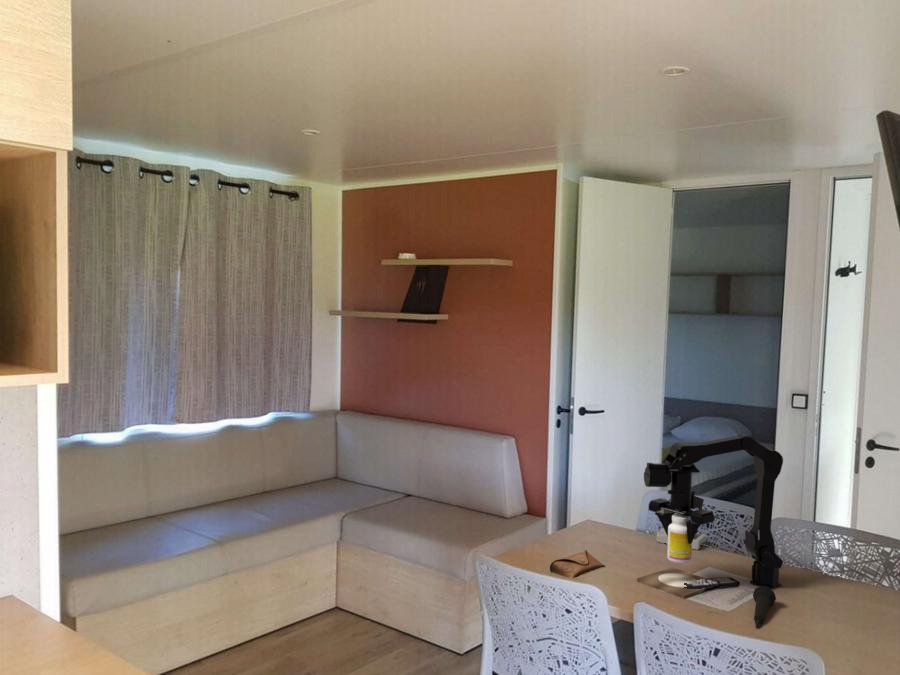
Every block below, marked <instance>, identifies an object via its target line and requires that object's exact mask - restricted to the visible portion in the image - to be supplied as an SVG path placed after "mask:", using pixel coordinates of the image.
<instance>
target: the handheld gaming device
mask: <svg viewBox="0 0 900 675" xmlns="http://www.w3.org/2000/svg"><path fill="white" fill-rule="evenodd" d="M659 538H660V539H659ZM655 540H656V542H657V543H659V542H660V544H664V543H666V544H665V545H668V537H667V534H666V532H665V530H664V527H662V528H661V529H659V530H658V532H657V533H656V539H655ZM706 540H707V534H703V533H697V532H696V534H695V537H694V539H693V541H692V547H691V550H695V549H696V551H698V550H700V549H701V545H705V544H706V542H707V541H706Z"/></svg>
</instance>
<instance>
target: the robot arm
mask: <svg viewBox="0 0 900 675" xmlns="http://www.w3.org/2000/svg"><path fill="white" fill-rule="evenodd" d="M740 451H745V453H747V454H748V455H749V456H751V457H752V458H753V466H754V470H755V474H756V477H757V481H756V491H755V492H756V493H755V502H754V515H753V526H752V527H751V529H750V530H748V529H744V530H745V531H744V540H743V544H744V545H745V549H746V551H747V552H748V553H749V554H750V555H751V558H752V560H753V559H754V560H753V564H752V565H751V580H750V581H749V583H750V584H753V585H755V586H758V587H759V586H766V587H769V588H770V589H771V590H772V589H775V588H778V587H780V586H782V582H780V581H779V578H780V569H782V566H783V564H784V561H783V559H782V558H781V557H780V556H779V555H778V554H777V553H776V548H775V546H776V545H775V540H774V536H773V534H772V528H771V527H772V516H773V508H774V507H773V506H774V497H775V496H774V495H775V484H776V480H777V478H778V477H779V476H780V474H781V471H782V468H783V464H784V457H783V455H782V453H780V452H779V451H777V450H775V449H772V448H770V447H766V446H764V445H763V444H761V443H759V442H757V440H755V439H753V438H752V437H751V436H749V435H746V434H744V433H743V434H742V433H741V434H738V435H734V436H730V437H729V436H728V437H723V438H718V439H713V440H708V441H707V440H706V441H703V442H702V441H701V442H691V441H687V442H686V441H683V442H682V441H680V442H679V441H677V442H673V444H672V445H671V447H670V449H669V452H668V454H667V455H666V456H665V457H664V459H663V460H662V461H661V463H655V462H647V463H646V467H645V469H644V472H643V482H644V485H645V487H646V488H667V487H668V486H670V489H668V490H667V494H668V495H670V500H667V499H664V498H657V499H652V500H650V501H649V503H648V511H650V512H654V515H655V516H657V517H658V520H659V521H660V523H661V525H662V528H664V530H665V532H666V534H667V537H668V526H669V525H670V524H672V522H673V521H672V515H675V514H679V515H685V516H688V517H689V519H690V520H689V521H687V522H686V526H687V538H688V543H689V544H691V543H692V541H693V539H694V537H695V534H696V533H697V531H698V530H699V528H700V526H701V525H706V524H711V523H715V514H714V512H713V511H711V510H707V509H703V505H704V501H705V499H704V498H702V497H698V496H696V495H695V494H696V492H695V491H694V490H693V489H692V484H693V482H692V481H693V473H697V474H698V473H700V472H701V471H700V470H699V469H698V468H697V467H696V465H695V464H696V463H698V462H700V461H701V460H703V459H706V458H708V457H714V456H718V455H724V454H728V453H735V452H740ZM695 509H697V510H695Z"/></svg>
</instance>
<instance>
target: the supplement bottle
mask: <svg viewBox="0 0 900 675" xmlns="http://www.w3.org/2000/svg"><path fill="white" fill-rule="evenodd" d="M689 519H690V517H689V516H685V515H681V514H677V513H675V514H674V515H672V524H670V525H669V526H668V544H667V552H666V554H667V555H666V556H667V560H669V561H670V562H672V563H676V564H688V563H691V560H692V549H691V547H692V543H691V544H689V543H688V538H687V526H686V522H687V521H690V520H689Z"/></svg>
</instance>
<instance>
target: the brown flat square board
mask: <svg viewBox="0 0 900 675" xmlns="http://www.w3.org/2000/svg"><path fill="white" fill-rule="evenodd" d="M700 579H707V578H706V577H702V576H700V575H697V574H695V573H694V574H693V573H691V572H688V571H685V570H682V569H680V568H676V567H673V566H672V567H668V568H666V569H663V570H660V571H655V572H653V573H650V574H646V575H643V576H640V577H637V578H636V581H637V582H639V583H641V584H644V585H647V586H650V587H651V588H654V589H658V590H659V591H662V592H666V593H668V594H671V595H673V596H676V597H678V598H681V599H687V598H690V597H693V596H695V595H698V594H700V593H699V592H700V591H703V590H704V589H705V588H702V589H687V588H684V587H687V586H686V585H684V583H687V584H689V583H694V582H697V580H700ZM697 593H698V594H697ZM694 594H695V595H694ZM692 595H693V596H692Z"/></svg>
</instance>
